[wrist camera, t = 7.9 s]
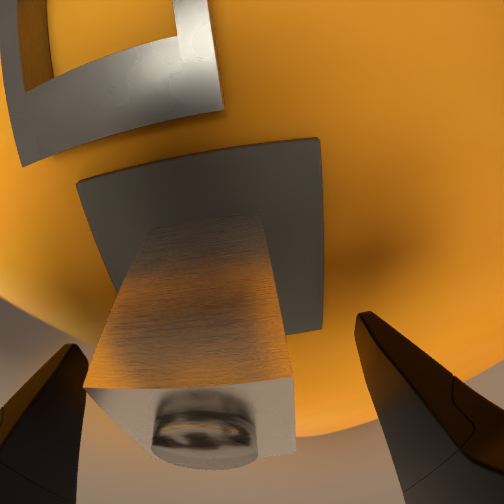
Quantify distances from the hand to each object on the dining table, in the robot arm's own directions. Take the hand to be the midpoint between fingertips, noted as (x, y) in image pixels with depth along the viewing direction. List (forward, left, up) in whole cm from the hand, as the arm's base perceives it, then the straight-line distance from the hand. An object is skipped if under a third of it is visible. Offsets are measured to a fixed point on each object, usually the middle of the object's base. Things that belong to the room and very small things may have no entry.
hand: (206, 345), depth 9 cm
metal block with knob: (0, 0, -4) cm, 4 cm away
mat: (0, 0, -4) cm, 4 cm away
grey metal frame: (+2, -18, -4) cm, 19 cm away
